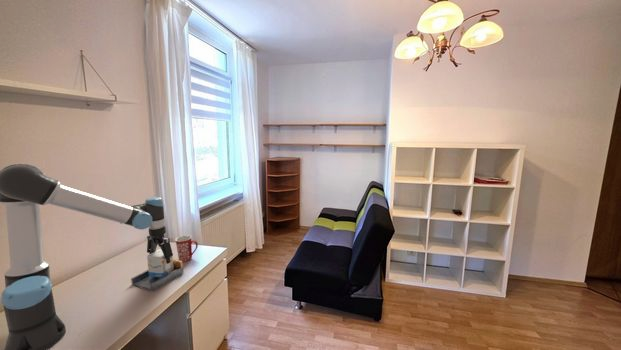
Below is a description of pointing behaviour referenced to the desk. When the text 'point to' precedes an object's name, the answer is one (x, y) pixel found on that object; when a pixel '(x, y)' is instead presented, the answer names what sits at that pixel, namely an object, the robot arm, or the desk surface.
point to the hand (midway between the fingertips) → (161, 266)
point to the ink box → (158, 264)
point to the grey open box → (156, 282)
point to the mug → (185, 247)
